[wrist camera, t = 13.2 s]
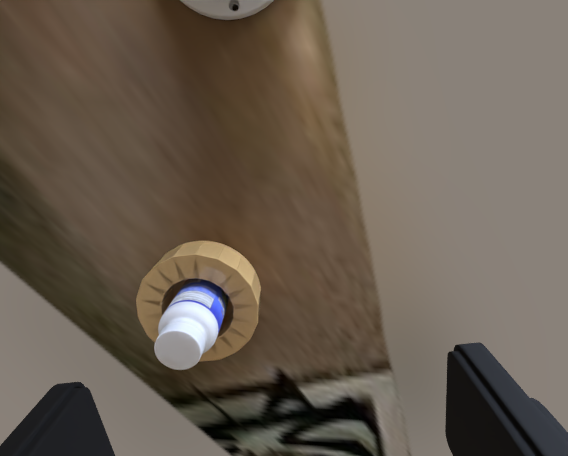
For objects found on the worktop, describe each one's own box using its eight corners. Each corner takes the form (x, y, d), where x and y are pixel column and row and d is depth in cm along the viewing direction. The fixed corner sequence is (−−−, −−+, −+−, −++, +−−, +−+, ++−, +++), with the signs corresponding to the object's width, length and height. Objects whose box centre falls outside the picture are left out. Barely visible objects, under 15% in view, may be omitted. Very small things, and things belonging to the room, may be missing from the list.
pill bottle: (225, 319, 38) (204, 384, 29) (177, 308, 38) (141, 370, 28) (234, 277, 36) (216, 332, 27) (185, 266, 36) (150, 317, 27)
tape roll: (138, 247, 36) (121, 262, 32) (252, 234, 35) (248, 248, 31) (165, 342, 39) (152, 366, 36) (269, 332, 39) (266, 355, 35)
